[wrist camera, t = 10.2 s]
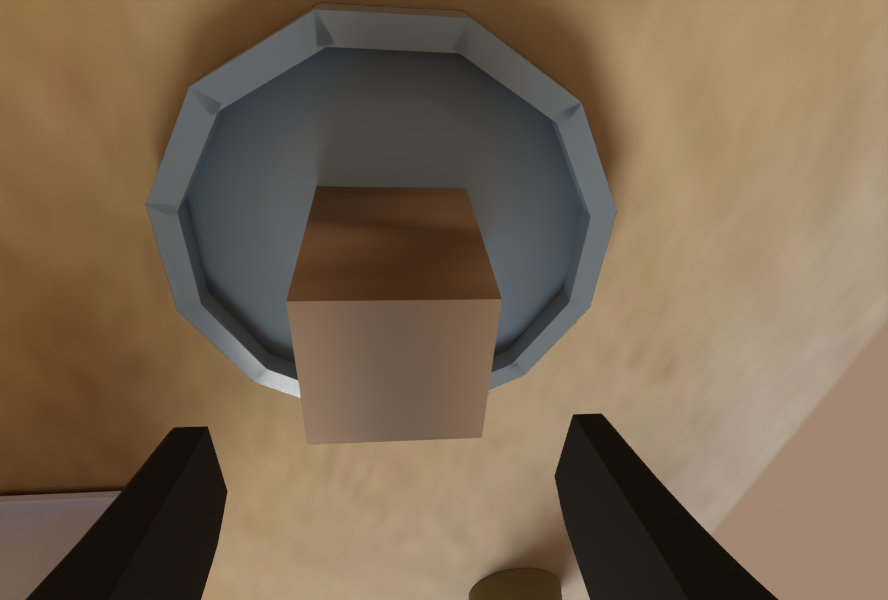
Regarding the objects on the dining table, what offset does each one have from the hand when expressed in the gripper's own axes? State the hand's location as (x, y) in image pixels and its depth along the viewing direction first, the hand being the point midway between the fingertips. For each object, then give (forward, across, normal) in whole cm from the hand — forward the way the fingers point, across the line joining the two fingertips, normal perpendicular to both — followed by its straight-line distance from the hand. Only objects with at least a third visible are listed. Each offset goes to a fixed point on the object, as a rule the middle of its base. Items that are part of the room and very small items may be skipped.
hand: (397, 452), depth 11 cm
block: (+8, 0, 0) cm, 8 cm away
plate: (+9, 0, 0) cm, 9 cm away
